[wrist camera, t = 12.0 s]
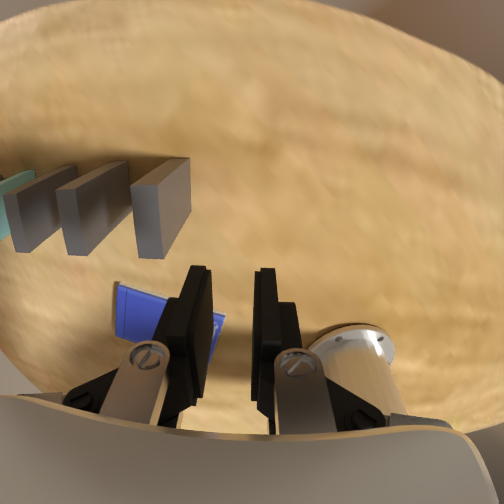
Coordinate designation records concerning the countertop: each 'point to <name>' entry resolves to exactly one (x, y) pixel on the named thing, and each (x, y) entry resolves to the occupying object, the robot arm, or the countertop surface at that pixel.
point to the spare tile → (0, 188)
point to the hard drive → (148, 315)
